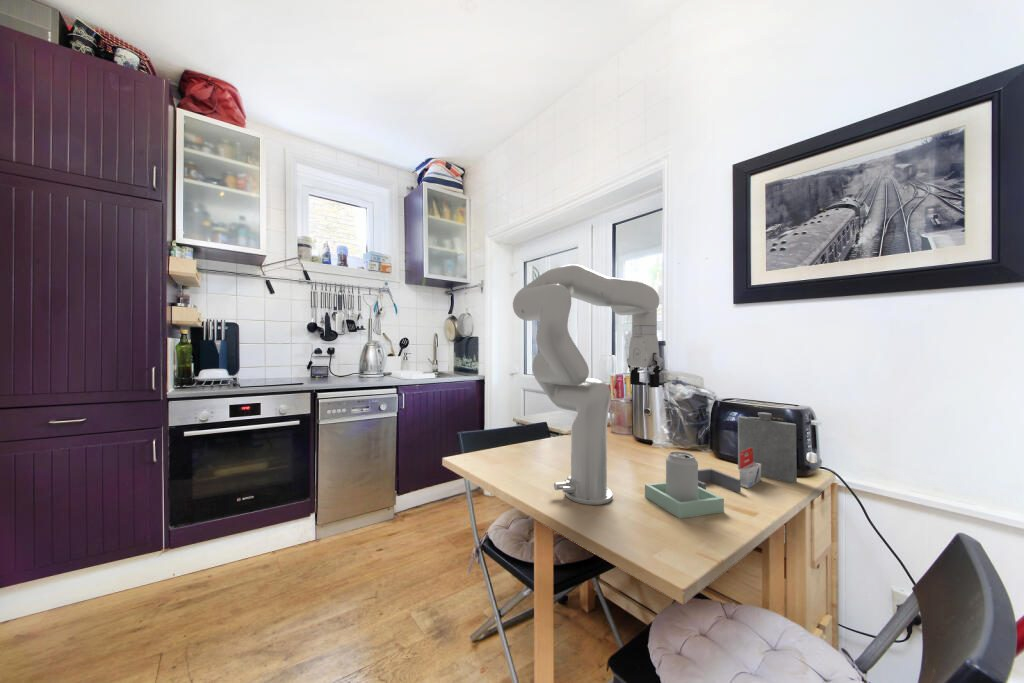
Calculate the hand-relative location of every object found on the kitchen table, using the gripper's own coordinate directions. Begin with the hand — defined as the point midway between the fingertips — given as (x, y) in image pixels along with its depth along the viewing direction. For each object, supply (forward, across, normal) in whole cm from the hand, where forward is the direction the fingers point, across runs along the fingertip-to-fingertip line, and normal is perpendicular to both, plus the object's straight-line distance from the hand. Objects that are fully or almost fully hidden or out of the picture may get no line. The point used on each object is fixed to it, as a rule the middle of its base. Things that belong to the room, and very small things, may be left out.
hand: (644, 385), depth 114 cm
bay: (+28, +14, +11) cm, 34 cm away
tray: (+28, +21, -4) cm, 35 cm away
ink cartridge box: (+29, +14, +27) cm, 42 cm away
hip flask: (+29, +10, +38) cm, 49 cm away
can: (+28, +21, -4) cm, 35 cm away
